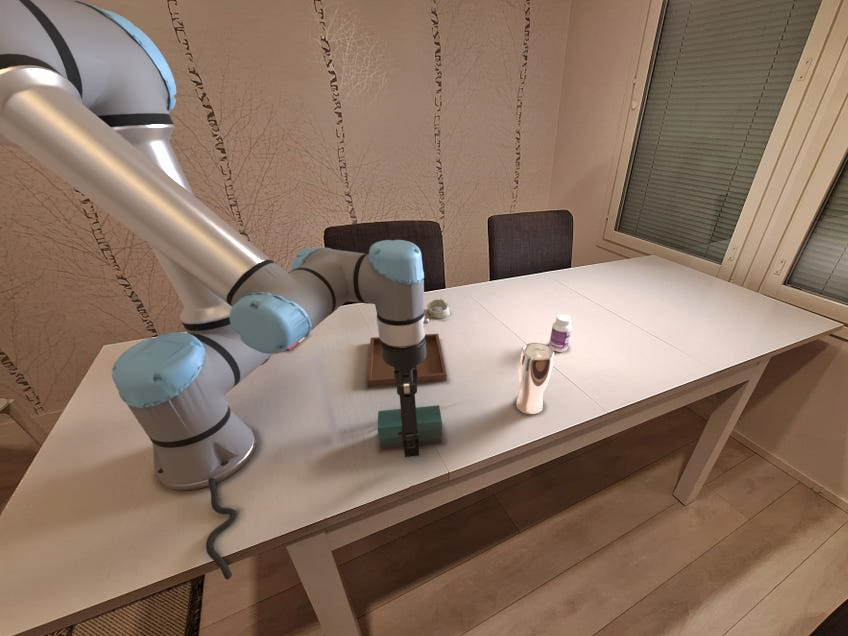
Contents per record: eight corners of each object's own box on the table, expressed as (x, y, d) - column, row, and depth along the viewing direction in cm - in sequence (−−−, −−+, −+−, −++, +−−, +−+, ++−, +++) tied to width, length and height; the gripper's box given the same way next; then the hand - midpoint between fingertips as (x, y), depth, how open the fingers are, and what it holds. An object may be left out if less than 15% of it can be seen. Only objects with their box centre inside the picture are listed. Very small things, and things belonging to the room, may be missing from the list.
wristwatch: (454, 317, 118) (454, 303, 115) (436, 322, 115) (436, 308, 112) (440, 306, 124) (439, 293, 121) (423, 310, 121) (422, 296, 118)
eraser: (442, 443, 74) (442, 421, 71) (380, 450, 72) (377, 428, 68) (439, 426, 78) (439, 405, 75) (381, 432, 76) (378, 410, 72)
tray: (446, 382, 90) (446, 374, 89) (368, 388, 87) (366, 380, 86) (438, 340, 106) (438, 333, 105) (371, 344, 103) (370, 337, 101)
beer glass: (536, 420, 81) (546, 364, 72) (508, 407, 84) (515, 352, 75) (549, 403, 86) (560, 348, 77) (522, 391, 89) (530, 338, 80)
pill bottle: (567, 353, 104) (573, 323, 98) (548, 350, 104) (553, 320, 99) (567, 343, 108) (573, 314, 103) (549, 341, 109) (554, 312, 103)
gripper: (432, 381, 52) (435, 477, 64) (420, 303, 72) (424, 388, 84) (377, 385, 51) (391, 483, 63) (381, 305, 71) (391, 391, 83)
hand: (410, 428), depth 74 cm, fingers open, 13 cm apart
